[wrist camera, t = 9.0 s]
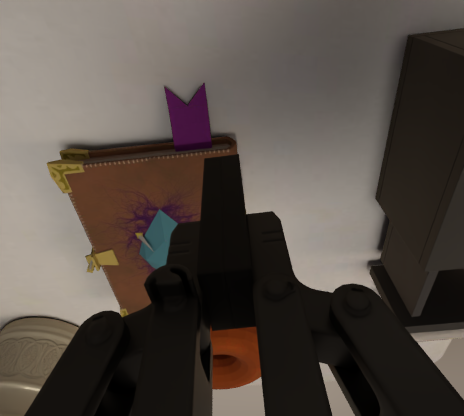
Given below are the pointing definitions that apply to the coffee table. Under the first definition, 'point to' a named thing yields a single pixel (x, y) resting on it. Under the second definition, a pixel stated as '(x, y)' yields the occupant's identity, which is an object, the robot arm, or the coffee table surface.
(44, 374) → the jar
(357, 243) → the coffee table surface
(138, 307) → the book
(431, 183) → the cabinet
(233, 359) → the donut
